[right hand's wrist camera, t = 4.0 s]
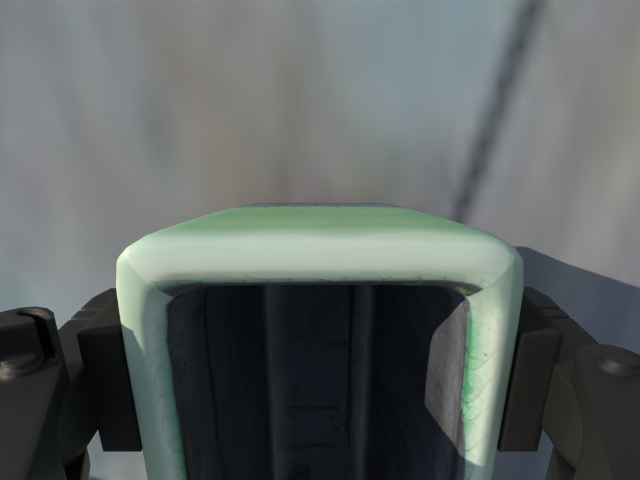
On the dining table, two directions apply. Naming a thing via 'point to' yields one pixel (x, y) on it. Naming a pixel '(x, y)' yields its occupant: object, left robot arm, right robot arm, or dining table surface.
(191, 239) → the planter
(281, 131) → the dining table surface
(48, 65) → the dining table surface
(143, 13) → the dining table surface
